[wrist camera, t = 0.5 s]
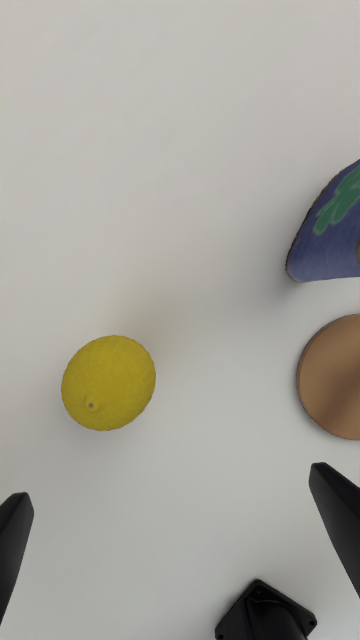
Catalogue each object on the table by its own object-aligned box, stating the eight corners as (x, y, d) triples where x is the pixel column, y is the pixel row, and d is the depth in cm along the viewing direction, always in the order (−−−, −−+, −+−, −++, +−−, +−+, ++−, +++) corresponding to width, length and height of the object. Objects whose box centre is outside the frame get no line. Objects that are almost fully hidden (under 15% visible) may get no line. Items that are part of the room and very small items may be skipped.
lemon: (128, 313, 21) (95, 327, 13) (174, 367, 21) (170, 412, 13) (75, 358, 21) (12, 398, 13) (121, 410, 22) (87, 479, 14)
